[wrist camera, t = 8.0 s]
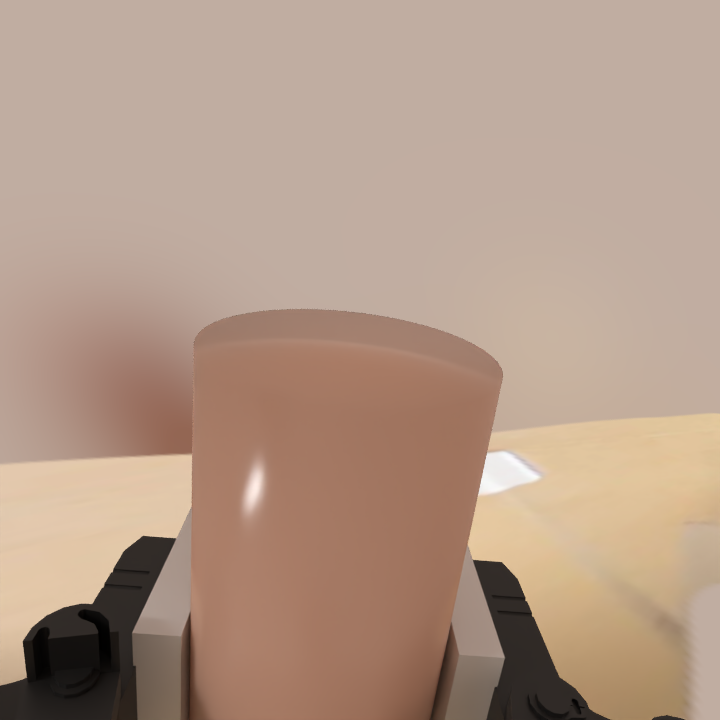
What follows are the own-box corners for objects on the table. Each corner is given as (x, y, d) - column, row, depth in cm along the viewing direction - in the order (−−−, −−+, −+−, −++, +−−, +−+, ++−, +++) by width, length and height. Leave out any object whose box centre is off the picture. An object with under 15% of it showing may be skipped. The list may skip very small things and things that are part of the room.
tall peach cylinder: (157, 1063, 10) (143, 389, 6) (213, 803, 14) (230, 299, 10) (389, 1069, 10) (550, 427, 6) (377, 811, 15) (466, 324, 10)
